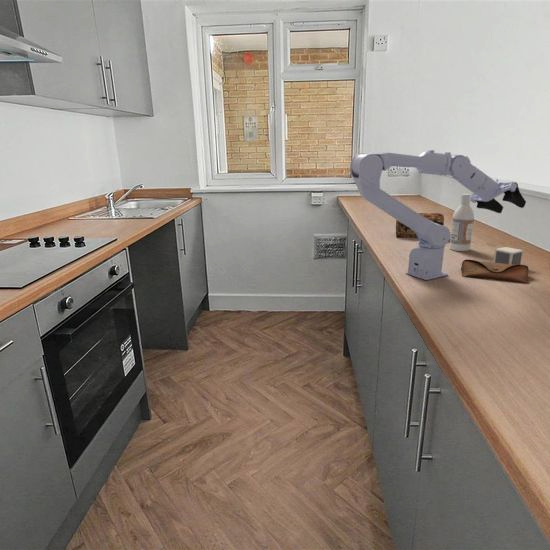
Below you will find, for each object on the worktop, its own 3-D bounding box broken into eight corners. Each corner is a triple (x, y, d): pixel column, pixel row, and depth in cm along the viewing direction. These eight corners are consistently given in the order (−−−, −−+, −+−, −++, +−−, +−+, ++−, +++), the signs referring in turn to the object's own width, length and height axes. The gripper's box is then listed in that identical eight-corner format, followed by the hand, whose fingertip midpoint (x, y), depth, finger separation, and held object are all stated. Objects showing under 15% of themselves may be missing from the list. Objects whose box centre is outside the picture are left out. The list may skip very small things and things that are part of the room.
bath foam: (462, 252, 145) (469, 195, 139) (445, 248, 151) (451, 194, 145) (473, 249, 149) (481, 194, 143) (456, 246, 154) (463, 192, 148)
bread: (441, 235, 174) (444, 211, 171) (442, 240, 164) (445, 215, 161) (396, 232, 180) (398, 210, 177) (394, 237, 170) (396, 214, 167)
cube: (509, 270, 125) (512, 253, 123) (492, 265, 130) (494, 249, 128) (520, 267, 127) (523, 250, 126) (503, 263, 132) (506, 246, 131)
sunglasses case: (460, 276, 119) (463, 255, 120) (459, 282, 126) (461, 261, 127) (531, 284, 112) (533, 261, 113) (526, 289, 119) (528, 267, 120)
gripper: (504, 163, 109) (539, 189, 112) (464, 178, 123) (496, 201, 126) (495, 185, 108) (531, 211, 111) (455, 198, 122) (488, 221, 125)
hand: (512, 207), depth 118 cm, fingers open, 7 cm apart
